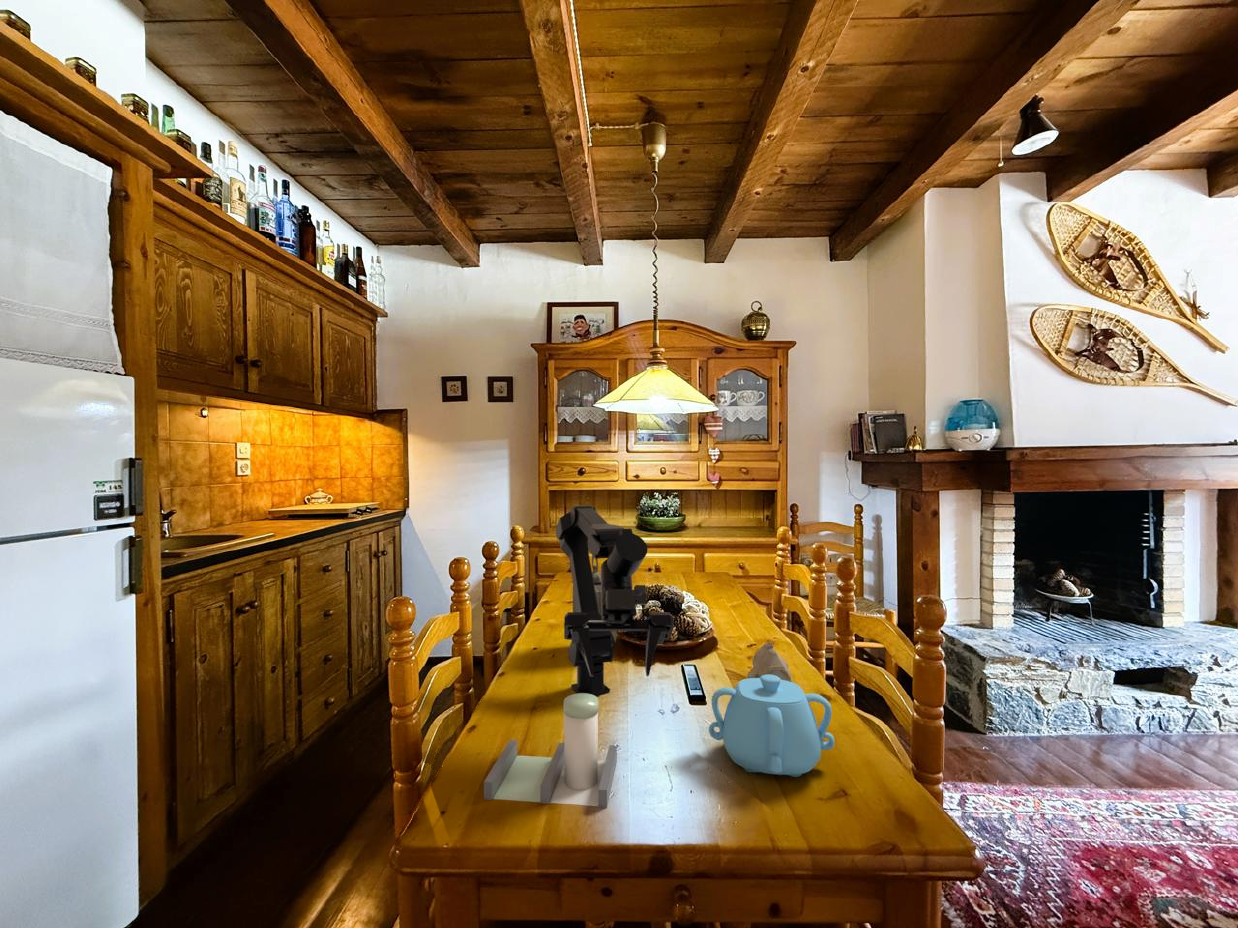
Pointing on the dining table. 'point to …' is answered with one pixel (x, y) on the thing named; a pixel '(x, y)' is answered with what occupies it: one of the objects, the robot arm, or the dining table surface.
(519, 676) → the dining table surface
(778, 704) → the decorative pot
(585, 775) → the white capped canister
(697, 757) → the dining table surface
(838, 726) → the dining table surface
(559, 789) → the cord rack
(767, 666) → the ceramic model
